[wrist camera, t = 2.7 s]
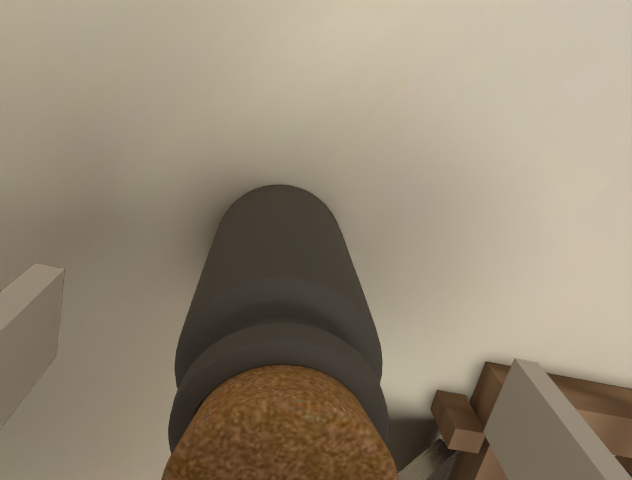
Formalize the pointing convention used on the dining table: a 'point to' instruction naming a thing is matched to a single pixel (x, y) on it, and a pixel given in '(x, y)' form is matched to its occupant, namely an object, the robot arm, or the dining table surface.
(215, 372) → the bottle
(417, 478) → the bar
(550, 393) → the robot arm
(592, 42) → the dining table surface
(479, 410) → the socket block
